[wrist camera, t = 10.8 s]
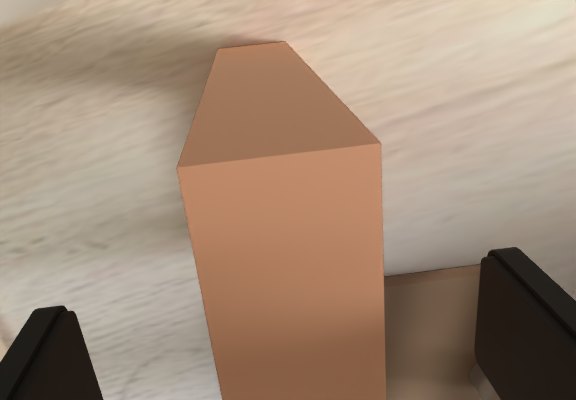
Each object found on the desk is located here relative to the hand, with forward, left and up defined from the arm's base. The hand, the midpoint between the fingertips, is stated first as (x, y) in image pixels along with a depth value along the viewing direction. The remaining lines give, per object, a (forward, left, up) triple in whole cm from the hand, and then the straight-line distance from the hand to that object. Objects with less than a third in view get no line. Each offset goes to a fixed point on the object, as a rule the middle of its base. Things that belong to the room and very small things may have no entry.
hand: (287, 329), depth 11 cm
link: (0, 0, -14) cm, 14 cm away
